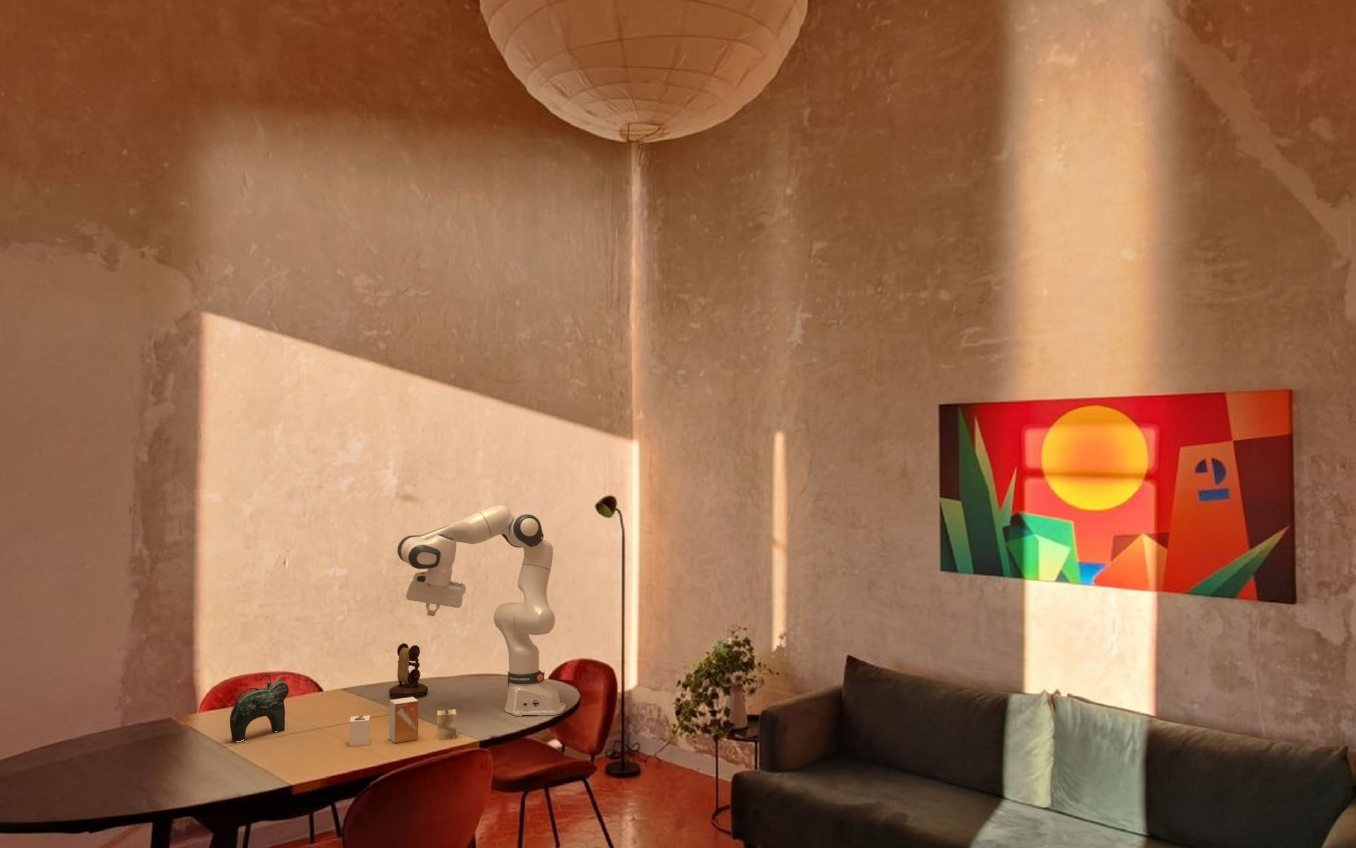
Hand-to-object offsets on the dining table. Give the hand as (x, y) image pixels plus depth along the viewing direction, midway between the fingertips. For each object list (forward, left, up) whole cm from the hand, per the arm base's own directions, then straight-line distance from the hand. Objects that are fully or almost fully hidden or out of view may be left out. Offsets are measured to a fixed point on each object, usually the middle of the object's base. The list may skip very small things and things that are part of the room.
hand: (430, 615), depth 354 cm
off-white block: (+10, +37, -36) cm, 52 cm away
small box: (-3, +32, -36) cm, 48 cm away
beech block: (-16, +27, -36) cm, 47 cm away
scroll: (+18, -24, -36) cm, 47 cm away
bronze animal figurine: (+47, +33, -36) cm, 68 cm away
